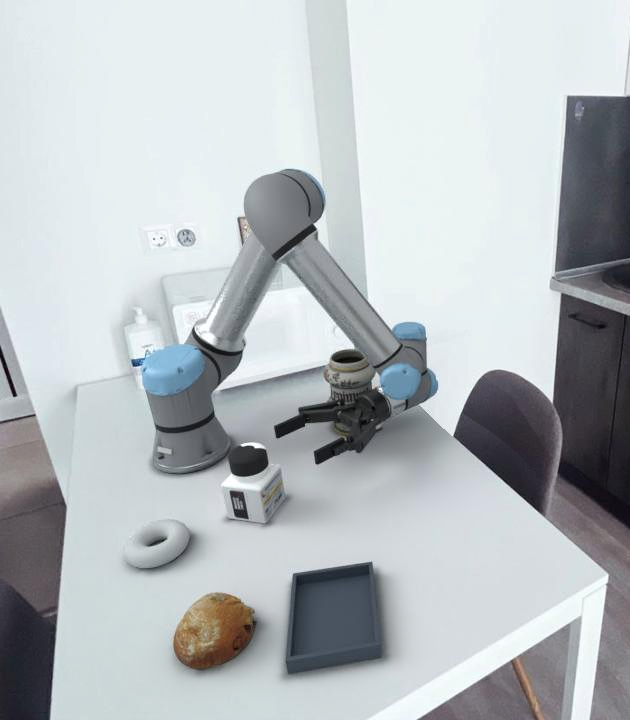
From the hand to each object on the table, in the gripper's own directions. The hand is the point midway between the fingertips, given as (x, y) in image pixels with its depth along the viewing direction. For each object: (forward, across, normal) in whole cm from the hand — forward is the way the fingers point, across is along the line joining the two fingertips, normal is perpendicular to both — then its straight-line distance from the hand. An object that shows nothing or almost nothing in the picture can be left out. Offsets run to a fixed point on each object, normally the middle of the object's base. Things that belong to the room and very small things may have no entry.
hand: (294, 444), depth 104 cm
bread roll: (+27, -21, -10) cm, 36 cm away
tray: (+14, -31, -10) cm, 35 cm away
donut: (+26, +2, -10) cm, 28 cm away
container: (+9, 0, -10) cm, 13 cm away
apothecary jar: (-22, +11, -10) cm, 26 cm away
